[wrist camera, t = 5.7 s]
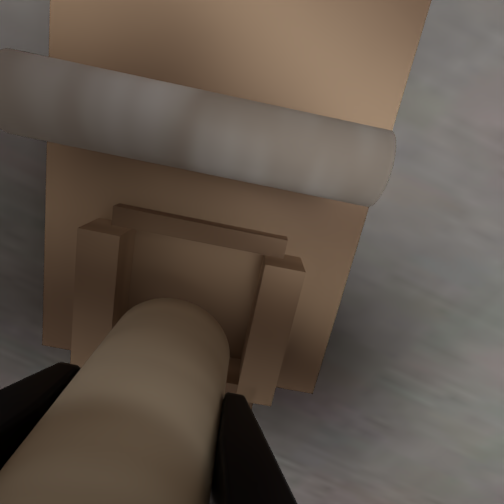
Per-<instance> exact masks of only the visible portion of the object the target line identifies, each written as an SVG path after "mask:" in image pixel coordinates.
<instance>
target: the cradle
mask: <svg viewBox="0 0 504 504" xmlns="http://www.w3.org/2000/svg"><path fill="white" fill-rule="evenodd" d="M430 4H431V0H50V26H49V57H47V56H42V55H37V54H33V53H28V52H23V51H19V50H14V49H8V48H6V49H2V50H0V128H1V129H2V130H3V131H5V132H7V133H9V134H13V135H18V136H23V137H28V138H33V139H38V140H42V141H47V158H46V203H45V247H44V291H43V335H42V345H44V346H50V347H55V348H61V349H67V350H71V361H70V364H74V365H78V366H79V367H80V368H82V366H83V365H84V364H85V363H86V361H87V360H88V359H89V358H90V356H91V355H92V354H93V353H94V351H95V350H96V349H97V347H98V346H99V345H100V344H101V342H102V341H103V340H104V339H105V337H106V336H107V335H108V334H109V332H110V331H111V330H112V329H113V327H114V326H115V325H116V323H117V322H118V321H119V320H120V318H121V317H122V316H123V315H124V314H125V313H126V312H127V311H128V310H130V309H131V308H132V307H134V306H136V305H138V304H140V303H142V302H145V301H148V300H152V299H158V298H173V299H180V300H184V301H187V302H190V303H192V304H195V305H197V306H199V307H201V308H202V309H204V310H205V311H207V312H208V313H209V314H210V315H211V316H213V317H214V318H215V320H216V321H217V322H218V323H219V324H220V326H221V327H222V329H223V331H224V333H225V335H226V337H227V340H228V344H229V350H230V358H229V365H228V372H227V380H226V387H225V394H226V393H227V392H230V393H235V394H241V395H244V396H245V398H246V400H247V402H248V404H249V406H250V408H251V409H252V405H253V403H255V404H261V405H266V406H271V404H272V400H273V396H274V392H275V389H276V387H278V388H283V389H289V390H295V391H300V392H306V393H311V394H313V391H314V387H315V384H316V381H317V377H318V374H319V371H320V367H321V364H322V361H323V358H324V354H325V351H326V348H327V344H328V341H329V338H330V334H331V331H332V328H333V324H334V321H335V318H336V315H337V311H338V308H339V305H340V301H341V298H342V295H343V291H344V288H345V285H346V281H347V278H348V275H349V271H350V268H351V265H352V262H353V258H354V255H355V252H356V248H357V245H358V242H359V238H360V235H361V232H362V228H363V225H364V222H365V219H366V215H367V212H368V209H369V207H370V206H372V205H374V204H375V203H376V202H377V201H378V199H379V198H380V196H381V195H382V193H383V191H384V189H385V187H386V185H387V183H388V180H389V177H390V174H391V171H392V168H393V164H394V159H395V153H396V138H395V134H394V132H393V131H392V129H393V126H394V123H395V119H396V116H397V113H398V109H399V106H400V103H401V99H402V96H403V93H404V90H405V86H406V83H407V80H408V76H409V73H410V70H411V66H412V63H413V60H414V56H415V53H416V50H417V47H418V43H419V40H420V37H421V33H422V30H423V27H424V23H425V20H426V17H427V13H428V10H429V7H430ZM225 394H224V395H225Z"/></svg>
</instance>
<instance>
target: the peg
mask: <svg viewBox="0 0 504 504" xmlns="http://www.w3.org/2000/svg"><path fill="white" fill-rule="evenodd" d="M229 358H230V350H229V344H228V340H227V337H226V335H225V333H224V331H223V329H222V327H221V326H220V324H219V323H218V322H217V321H216V320H215V318H214V317H213V316H211V315H210V314H209V313H208V312H207V311H205V310H204V309H202V308H201V307H199V306H197V305H195V304H192V303H190V302H187V301H184V300H180V299H173V298H158V299H152V300H148V301H145V302H142V303H140V304H138V305H136V306H134V307H132V308H131V309H130V310H128V311H127V312H126V313H125V314H124V315H123V316H122V317H121V318H120V320H119V321H118V322H117V323H116V325H115V326H114V327H113V329H112V330H111V331H110V332H109V334H108V335H107V336H106V337H105V339H104V340H103V341H102V342H101V344H100V345H99V346H98V347H97V349H96V350H95V351H94V353H93V354H92V355H91V356H90V358H89V359H88V360H87V361H86V363H85V364H84V365H83V366H82V368H81V369H80V370H79V371H78V373H77V374H76V375H75V377H74V378H73V379H72V380H71V382H70V383H69V384H68V385H67V387H66V388H65V389H64V390H63V392H62V393H61V394H60V395H59V397H58V398H57V399H56V401H55V402H54V403H53V404H52V406H51V407H50V408H49V409H48V411H47V412H46V413H45V414H44V416H43V417H42V418H41V419H40V421H39V422H38V423H37V424H36V426H35V427H34V428H33V430H32V431H31V432H30V433H29V435H28V436H27V437H26V438H25V440H24V441H23V442H22V443H21V445H20V446H19V447H18V448H17V450H16V451H15V452H14V454H13V455H12V456H11V457H10V459H9V460H8V461H7V462H6V464H5V465H4V466H3V467H2V469H1V470H0V504H209V503H210V496H211V489H212V481H213V474H214V467H215V457H216V449H217V442H218V434H219V427H220V420H221V413H222V406H223V399H224V394H225V387H226V380H227V372H228V365H229Z"/></svg>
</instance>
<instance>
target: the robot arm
mask: <svg viewBox="0 0 504 504" xmlns="http://www.w3.org/2000/svg"><path fill="white" fill-rule="evenodd" d="M80 369H81V368H80V367H79V366H78V365H74V364H69V363H62V362H60V363H57V364H55V365H52V366H50V367H48V368H46V369H44V370H42V371H39V372H37V373H35V374H33V375H31V376H29V377H26V378H24V379H22V380H20V381H18V382H16V383H14V384H11V385H9V386H7V387H5V388H3V389H1V390H0V470H1V469H2V467H3V466H4V465H5V464H6V462H7V461H8V460H9V459H10V457H11V456H12V455H13V454H14V452H15V451H16V450H17V448H18V447H19V446H20V445H21V443H22V442H23V441H24V440H25V438H26V437H27V436H28V435H29V433H30V432H31V431H32V430H33V428H34V427H35V426H36V424H37V423H38V422H39V421H40V419H41V418H42V417H43V416H44V414H45V413H46V412H47V411H48V409H49V408H50V407H51V406H52V404H53V403H54V402H55V401H56V399H57V398H58V397H59V395H60V394H61V393H62V392H63V390H64V389H65V388H66V387H67V385H68V384H69V383H70V382H71V380H72V379H73V378H74V377H75V375H76V374H77V373H78V371H79V370H80ZM209 504H297V502H296V500H295V498H294V496H293V494H292V492H291V490H290V488H289V486H288V484H287V482H286V480H285V477H284V475H283V473H282V471H281V469H280V467H279V465H278V463H277V461H276V459H275V457H274V455H273V453H272V451H271V449H270V447H269V445H268V443H267V441H266V439H265V437H264V434H263V432H262V430H261V428H260V426H259V424H258V422H257V420H256V418H255V416H254V414H253V412H252V410H251V408H250V406H249V404H248V402H247V400H246V398H245V396H244V395H241V394H235V393H230V392H227V393H226V394H225V395H224V399H223V406H222V413H221V420H220V427H219V434H218V442H217V449H216V457H215V467H214V474H213V481H212V489H211V496H210V503H209Z"/></svg>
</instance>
